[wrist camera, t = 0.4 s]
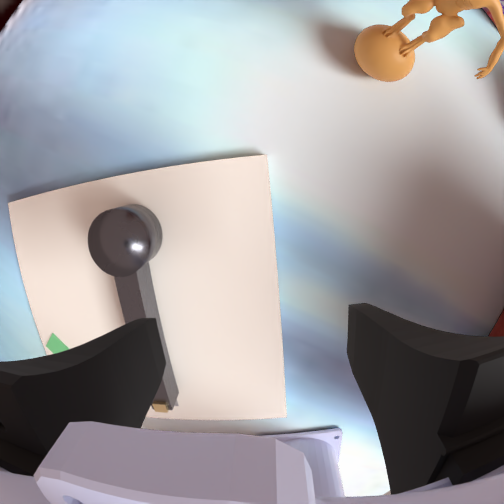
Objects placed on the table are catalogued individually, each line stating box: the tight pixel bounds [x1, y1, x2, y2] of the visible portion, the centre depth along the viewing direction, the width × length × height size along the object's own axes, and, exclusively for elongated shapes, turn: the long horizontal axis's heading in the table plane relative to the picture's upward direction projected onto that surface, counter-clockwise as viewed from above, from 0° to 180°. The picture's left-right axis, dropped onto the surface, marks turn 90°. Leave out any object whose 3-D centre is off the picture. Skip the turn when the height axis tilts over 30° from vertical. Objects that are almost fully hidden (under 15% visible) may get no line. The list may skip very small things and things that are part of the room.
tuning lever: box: [88, 204, 179, 413], centre depth 19 cm, size 14×4×3 cm, turn 6°
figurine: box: [354, 0, 504, 82], centre depth 11 cm, size 8×6×12 cm
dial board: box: [8, 155, 287, 420], centre depth 22 cm, size 20×21×1 cm
